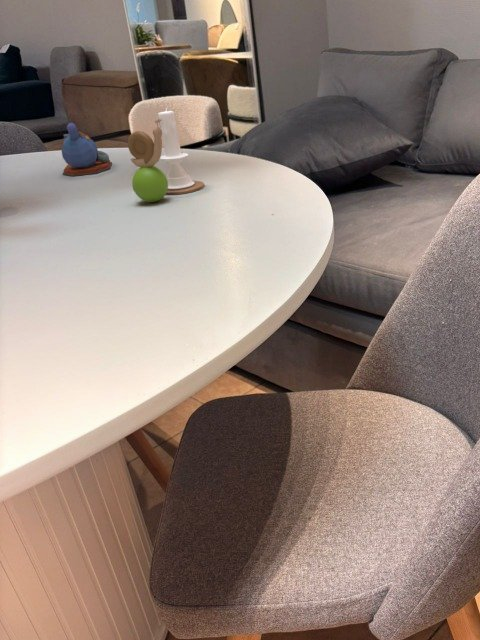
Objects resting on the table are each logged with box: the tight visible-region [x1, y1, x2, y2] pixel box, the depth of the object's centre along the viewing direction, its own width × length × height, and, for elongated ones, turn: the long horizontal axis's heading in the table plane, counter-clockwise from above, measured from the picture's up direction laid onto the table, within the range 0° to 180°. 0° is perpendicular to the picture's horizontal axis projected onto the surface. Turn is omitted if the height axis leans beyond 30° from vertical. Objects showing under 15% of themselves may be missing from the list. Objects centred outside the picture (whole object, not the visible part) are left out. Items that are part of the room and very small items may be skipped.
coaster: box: [165, 180, 205, 196], centre depth 107 cm, size 8×8×1 cm
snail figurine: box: [127, 118, 168, 203], centre depth 97 cm, size 5×6×12 cm
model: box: [61, 122, 113, 177], centre depth 126 cm, size 12×9×9 cm
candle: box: [157, 107, 195, 189], centre depth 104 cm, size 5×5×12 cm
